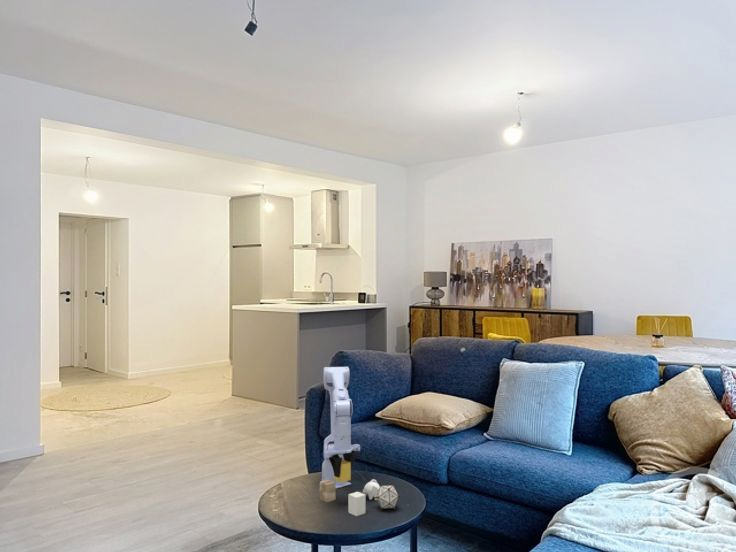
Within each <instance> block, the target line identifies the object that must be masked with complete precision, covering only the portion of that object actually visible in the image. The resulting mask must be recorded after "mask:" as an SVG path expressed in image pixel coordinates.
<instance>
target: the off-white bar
mask: <svg viewBox="0 0 736 552" xmlns="http://www.w3.org/2000/svg"><path fill="white" fill-rule="evenodd" d="M365 494H366V493H365ZM365 494H363V493H362V492H361V491H355V492H352V493H348V495H347V497H348V499H347V500H348V501H347V502H348V511H347V512H348V514H351V515H353V516H355V517H358V516H361V515H365V514H366V503H367V502H366V501H367V500H366V498H367V497H366V496H367V495H365Z"/></svg>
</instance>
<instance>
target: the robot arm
mask: <svg viewBox="0 0 736 552" xmlns="http://www.w3.org/2000/svg"><path fill="white" fill-rule="evenodd" d="M349 384H350V367H349V366H325V367H323V387H324V390H326V391H328V393H329V397H330V399H329V401H330V405H329V406H330V434H329V435H328V436H326V437H325V438H324V440H323V459H324V460H323V462H322V464H321V465H322V466H321V480H320V481H319V483H320V482H322V481H325V480H331V481H333V482H336V489H340V488H343V487H346V486H351V485H352V483H351V482H350V481H345V482H342V483H341V482H339V481H336V480H334V476H336V477H340V467H341V462H342V460H346V461H348V462H351V469H352V467H353V465H354V462H355V460H356V458H357V456H358V454H357V452H360V451H361V445H360V444H358V443H355V444H352V442H351V441H352V436H351V435H352V431H351V430H352V423H351V422H352V417H353V411H354V410H353V402H352V399H351V398H350V395H349V391H348V386H349Z"/></svg>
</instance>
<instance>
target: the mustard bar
mask: <svg viewBox="0 0 736 552" xmlns="http://www.w3.org/2000/svg"><path fill="white" fill-rule="evenodd" d="M351 471H352V468H351V462H348V461H346V460H342V462H341V467H340V477H336V476H334V480H336V481H339V482H341V483H342V482H345V481H347V482H350V481H351V478H352V477H351V476H352V473H351Z"/></svg>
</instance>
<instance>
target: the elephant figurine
mask: <svg viewBox="0 0 736 552" xmlns="http://www.w3.org/2000/svg"><path fill="white" fill-rule="evenodd" d="M379 484H380V483H378V481H377V480H376V479H374V478H373V479H371V480H370V481H368V482H367V483H366V484H365V485H364V488H363V489H362V492H361V493H362V494H365V495H366V496H368V499H369V501H370V500H373V499H374V501H377V499H375V498H374V497H376V496H377V493H378V490H379V488H380V486H379Z"/></svg>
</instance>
